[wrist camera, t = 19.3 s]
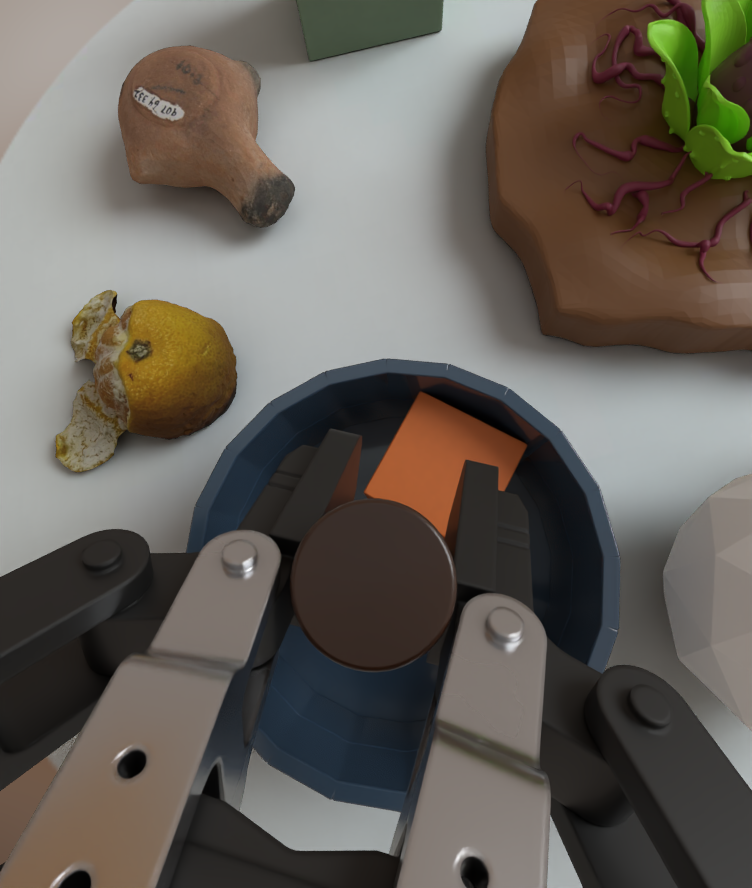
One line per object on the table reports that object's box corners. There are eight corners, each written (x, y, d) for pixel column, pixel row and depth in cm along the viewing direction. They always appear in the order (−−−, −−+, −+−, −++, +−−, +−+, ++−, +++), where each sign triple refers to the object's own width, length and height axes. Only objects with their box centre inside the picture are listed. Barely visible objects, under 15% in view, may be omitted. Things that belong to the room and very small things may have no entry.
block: (460, 554, 19) (473, 553, 16) (371, 504, 20) (362, 492, 16) (505, 465, 20) (528, 444, 16) (417, 421, 21) (420, 389, 17)
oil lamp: (147, 260, 25) (305, 242, 25) (99, 217, 21) (286, 196, 21) (139, 93, 26) (291, 73, 25) (90, 21, 22) (271, -3, 21)
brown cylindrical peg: (355, 621, 15) (284, 717, 7) (338, 526, 16) (253, 499, 7) (449, 603, 15) (503, 675, 7) (429, 508, 16) (452, 459, 7)
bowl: (273, 757, 19) (210, 850, 13) (230, 443, 22) (163, 405, 16) (597, 695, 19) (682, 763, 13) (513, 383, 21) (551, 322, 16)
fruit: (76, 302, 24) (16, 259, 20) (247, 292, 23) (216, 245, 20) (58, 474, 22) (-11, 460, 18) (242, 467, 21) (207, 451, 18)
